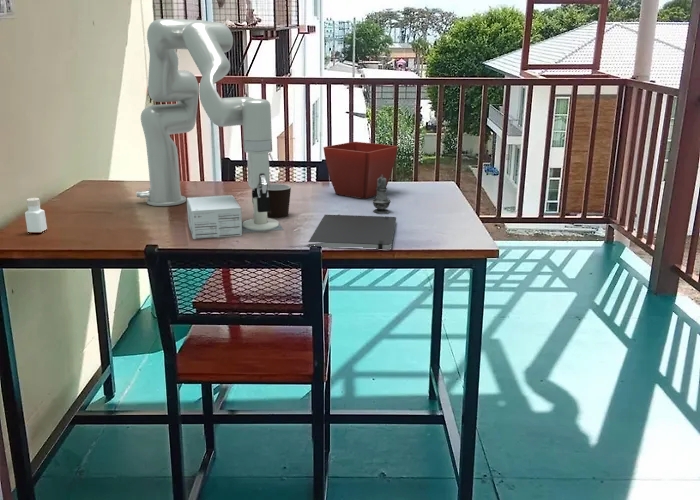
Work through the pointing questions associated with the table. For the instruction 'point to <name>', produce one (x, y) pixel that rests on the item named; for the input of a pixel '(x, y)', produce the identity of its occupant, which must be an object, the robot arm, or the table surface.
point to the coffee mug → (278, 200)
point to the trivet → (262, 231)
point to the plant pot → (359, 167)
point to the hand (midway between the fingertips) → (260, 207)
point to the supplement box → (214, 217)
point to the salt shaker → (35, 216)
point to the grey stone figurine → (381, 197)
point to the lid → (260, 220)
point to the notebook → (354, 231)
